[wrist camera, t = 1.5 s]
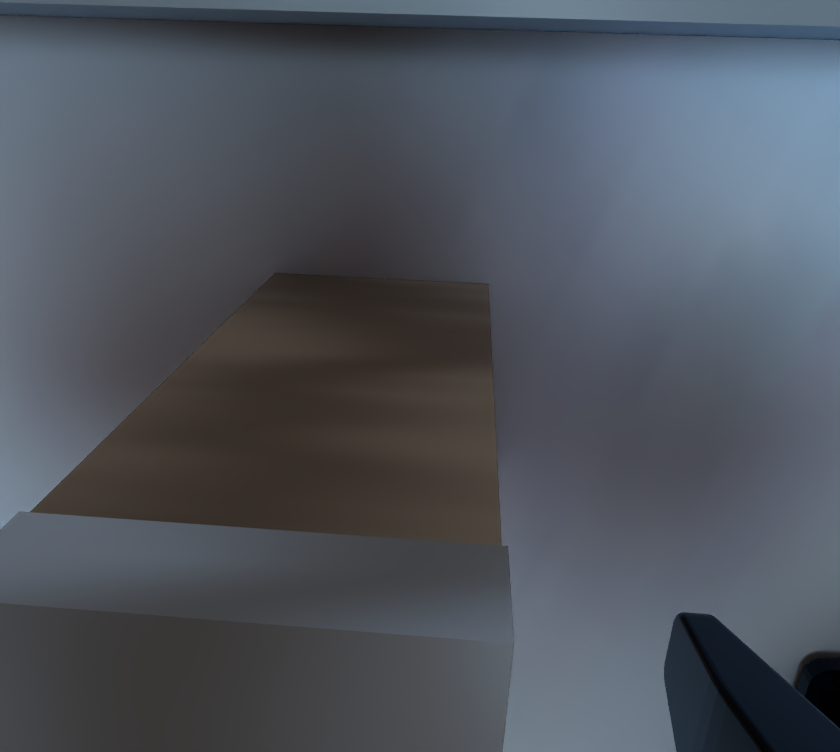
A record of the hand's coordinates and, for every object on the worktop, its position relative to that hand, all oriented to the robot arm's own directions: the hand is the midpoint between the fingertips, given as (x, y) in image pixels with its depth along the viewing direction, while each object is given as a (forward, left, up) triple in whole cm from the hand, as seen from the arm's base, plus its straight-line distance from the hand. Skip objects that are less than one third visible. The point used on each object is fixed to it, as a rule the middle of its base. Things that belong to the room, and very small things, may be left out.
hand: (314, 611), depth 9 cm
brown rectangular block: (0, 0, -7) cm, 7 cm away
